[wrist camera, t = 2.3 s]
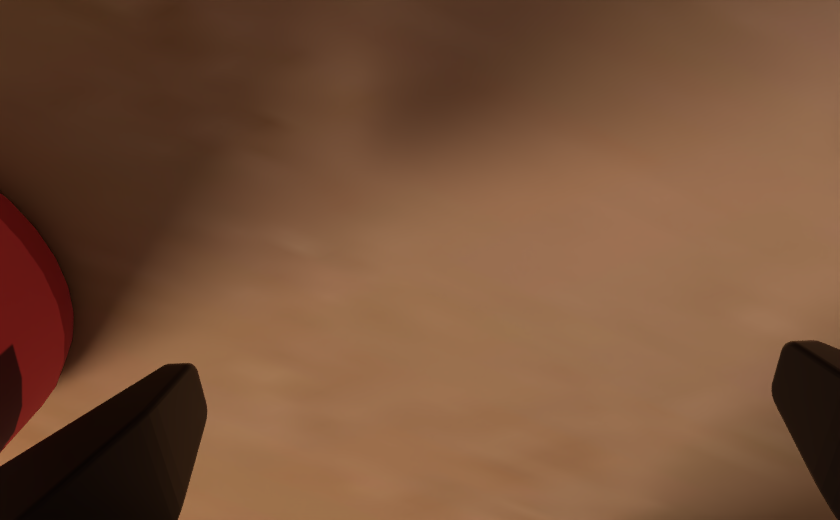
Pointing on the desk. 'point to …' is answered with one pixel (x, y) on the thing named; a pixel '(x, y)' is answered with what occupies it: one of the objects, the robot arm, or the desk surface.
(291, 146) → the desk surface
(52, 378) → the canned food
